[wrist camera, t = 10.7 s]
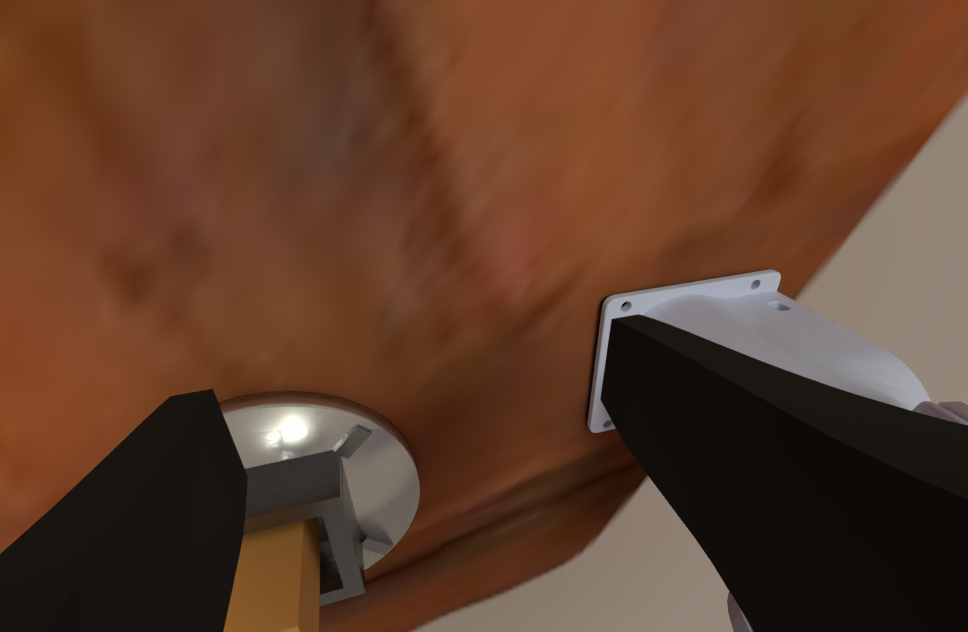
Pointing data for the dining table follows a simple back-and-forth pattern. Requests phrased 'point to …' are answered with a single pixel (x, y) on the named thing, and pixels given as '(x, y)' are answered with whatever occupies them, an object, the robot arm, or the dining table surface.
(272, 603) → the orange square peg
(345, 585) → the square-hole metal disc
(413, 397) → the dining table surface
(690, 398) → the robot arm
